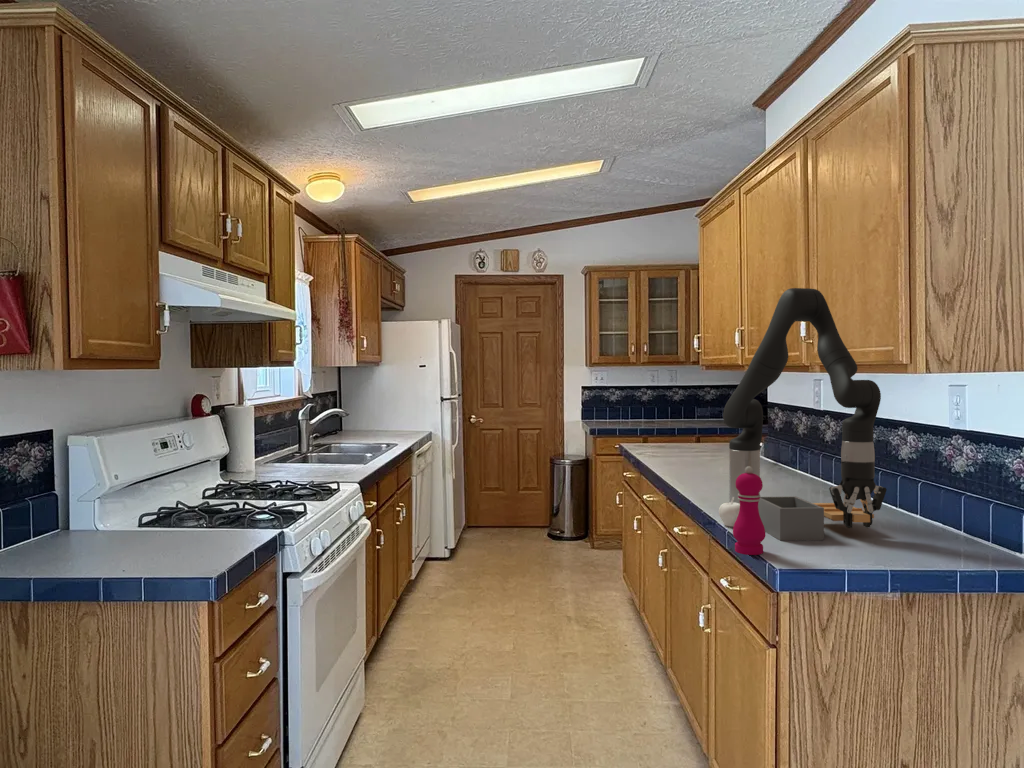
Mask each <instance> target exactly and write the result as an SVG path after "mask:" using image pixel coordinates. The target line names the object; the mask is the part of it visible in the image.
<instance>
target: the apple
mask: <svg viewBox="0 0 1024 768" xmlns="http://www.w3.org/2000/svg"><path fill="white" fill-rule="evenodd" d="M733 500H734V497H733V498H732V501H731V503H730V502H724V503H722V504H720V506H719V508H718V514H719V515H718V516H719V517H720V520H721V522H722V523H723V525H724V526H726V527H729V528H733V527H734V524H735V521H736V519H737V517H738V514H739V509H740V503H735V502H734V503H733Z"/></svg>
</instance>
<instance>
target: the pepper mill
mask: <svg viewBox="0 0 1024 768" xmlns="http://www.w3.org/2000/svg"><path fill="white" fill-rule="evenodd" d="M745 472H746V473H743V474H741V475H739V476H738V477H737V479H736V483H735V484H736V488H737V490H738V491H739V493H738V500H740V509H739V514H738V517H737V519H736V521H735V524H734V527H732V536H733V537H734V539H735V540H736V542H735V543H734V551H735V552H736V553H738V554H740V555H746V556H759V555H762V554H764V545H763V544H762V542H763V541H764V540H765V538H766V532H765V528H764V525H763V523H762V520H761V518H760V515H759V510H758V502H759V501H760V497H761V491H762V490H763V486H764V485H763V480H762V477H761V476H760V477H759V476H758V475H756V474H753V473H752V472H753V469H752V467H750V466H748V467H746V468H745ZM759 492H760V494H759Z"/></svg>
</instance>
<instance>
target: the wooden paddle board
mask: <svg viewBox="0 0 1024 768" xmlns="http://www.w3.org/2000/svg"><path fill="white" fill-rule="evenodd" d="M812 503H813V504H815V505H818V506H820V507H823V508H824V518H826V519H828V520H830V521H833V522H843V511H841V510H839V509H836V508H835V505H834V502H812ZM863 512H864V509H863V507H855V506H853V508H852V512H851V513H852V523H863V522H870V515H869V514H866V513H863ZM872 519H875V514H873V513H872Z"/></svg>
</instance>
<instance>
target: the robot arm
mask: <svg viewBox="0 0 1024 768" xmlns="http://www.w3.org/2000/svg"><path fill="white" fill-rule="evenodd" d="M795 322H809V323H810V324H811V325H812V326H813V327H814V329H815V330H816V332H817V338H818V339H817V346H816V347H817V348H816V349H817V350H816V351H817V355H818V359H819V360H820V362H821V364H822V366H823V368H824V369H825V371H826V372H827V374H828V376H829V379H830V384H831V385H830V386H831V388H832V392H833V397H834V399H835V401H836V402H837V403H838V404H839V405H841V406H842V407H843V408H846V409H855V411H854V414H853V415H852V416H850V417H847V418H845V419H844V420H843V421H842V424H841V425H842V426H841V427H842V428H841V429H842V431H841V432H842V433H841V436H842V439H841V449H840V458H841V459H840V460H841V461H840V462H841V465H840V470H841V471H840V476H841V480H840V483H839V485H836V486H830V487H828V490H829V493H830V496H831V500H832V501H833V502H832V503H834V505H835V508H836V509H839V510H841V511H843V521H842V522H843V525H844V526H845V527H846V528H848V529H852V528H853V522H852V513H851V512H852V508H853V507H854V505H856V501H858V500H859V501H860V502H861V504H862V510H863V511H864V512H863V513H866V514H869V515H870V522H862V525H863V527H865V528H868V529H869V528H871V526H872V525H873V518H872V514H873V513H874V512H875V511H880V510H881V507H882V505H883V501H884V499H885V495H886V494H887V493H886V492H887V488H886V487H883V486H881V485H877V484H876V482H875V474H876V473H875V458H876V455H875V454H876V453H875V445H874V424H875V421H876V418H877V414H878V411H879V407H880V404H881V401H882V400H881V399H882V398H881V397H882V393H881V390H880V387H879V385H878V384H877V383H876V382H875V381H873V380H870V379H853V376H855V374H856V373H857V371H858V368H859V367H858V364H857V362H856V361H855V359H854V358H853V356H852V354H851V353H850V350H849V349H848V348H847V346H846V345H845V343H844V341H843V340H842V338H841V335H840V333H839V331H838V328H837V326H836V323H835V321H834V317H833V316H832V312H831V310H830V307H829V305H828V302H827V301H826V298H825V296H824V295H823V293H822V292H821V291H820V290H818V289H816V288H809V287H808V288H805V287H804V288H803V287H801V288H800V287H793V288H792V287H791V288H788V289H786V290H785V291H784V292H783V293H782V294H781V295H780V297H779V299H778V301H777V303H776V306H775V309H774V311H773V314H772V317H771V320H770V322H769V325H768V327H767V330H766V332H765V334H764V336H763V338H762V340H761V341H760V343H759V345H758V348H757V349H756V351H755V353H754V355H753V356H752V358H751V361H750V363H749V365H748V367H747V369H746V371H745V373H744V374H743V376H742V379H741V380H740V382H739V384H738V385H737V387H736V389H734V391H733V393H732V394H731V396H730V397H729V399H728V400H727V401H726V404H725V406H724V407H723V411H722V412H723V415H722V416H723V418H722V419H723V422H724V424H725V425H726V426H727V427H729V428H732V429H742V431H741V433H740V434H738V436H735V437H734V438H732V439H730V441H729V445H728V447H729V451H728V452H729V455H728V457H729V459H728V460H729V464H728V465H729V476H728V477H729V480H728V481H729V493H728V495H729V497H728V499H729V502H730V503H731V501H732V498H733V497H734V500H733V503H734V502H735V503H740V500H738V493H739V491H738V490H737V488H736V484H735V483H736V479H737V477H738V476H739V475H741V474H743V473H746V472H745V468H746V467H748V466H750V467H752V469H753V472H752V473H753V474H756V475H758V476H759V477H760V478H761V460H760V459H761V457H760V456H761V453H760V452H761V444H762V439H763V426H764V425H763V422H764V411H763V406H762V404H761V403H760V401H759V400H758V399H755V397H757V396H758V395H759V394H761V392H764V391H765V390H766V389H768V387H770V386H771V385H773V384H774V383H775V382H776V381H777V380H778V378H779V377H780V376H781V374H782V373H783V370H784V369H785V367H786V365H787V364H788V361H789V349H788V344H787V336H788V334H789V331H790V329H791V328H792V326H793V324H795ZM842 492H843V493H844V497H843V499H842V495H841V494H842ZM872 493H873V498H872V496H871V494H872ZM759 494H760V495H761V491H760V492H759Z"/></svg>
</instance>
